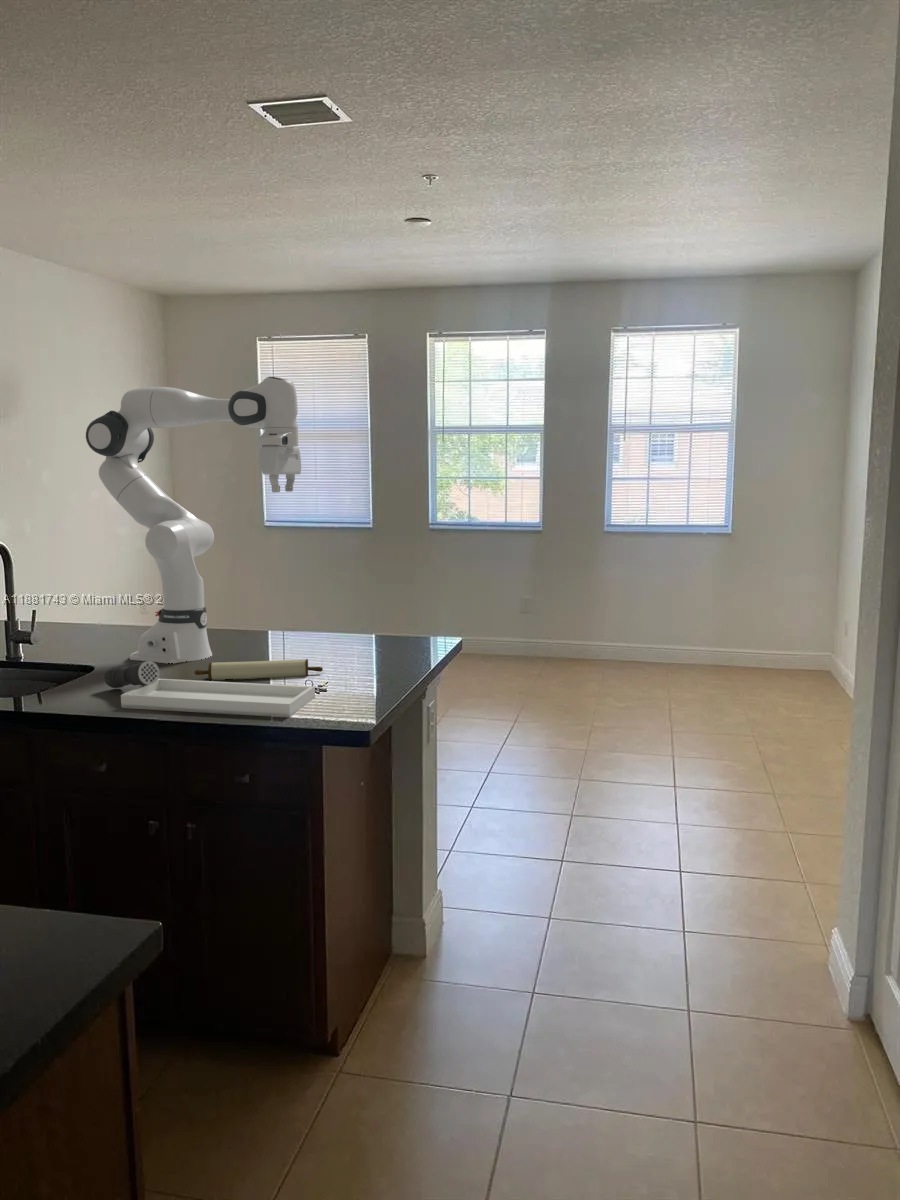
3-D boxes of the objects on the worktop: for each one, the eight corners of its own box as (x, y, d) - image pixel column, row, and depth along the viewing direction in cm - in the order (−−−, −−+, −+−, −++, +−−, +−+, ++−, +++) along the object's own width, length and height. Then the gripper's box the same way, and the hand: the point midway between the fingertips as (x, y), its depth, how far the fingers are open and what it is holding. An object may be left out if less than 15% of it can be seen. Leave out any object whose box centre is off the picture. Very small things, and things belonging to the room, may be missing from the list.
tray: (121, 707, 196) (120, 694, 196) (158, 690, 212) (157, 678, 211) (289, 717, 188) (289, 704, 188) (315, 698, 204) (314, 686, 204)
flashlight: (98, 678, 210) (111, 661, 213) (113, 693, 212) (126, 676, 216) (135, 673, 200) (148, 656, 204) (150, 689, 203) (163, 672, 207)
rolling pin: (193, 684, 219) (192, 665, 218) (196, 679, 224) (195, 660, 223) (323, 679, 224) (322, 660, 223) (322, 675, 229) (322, 656, 228)
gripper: (284, 441, 243) (286, 491, 245) (254, 438, 223) (256, 492, 225) (306, 440, 241) (307, 491, 243) (278, 438, 222) (279, 492, 224)
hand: (282, 492), depth 234 cm, fingers open, 8 cm apart
